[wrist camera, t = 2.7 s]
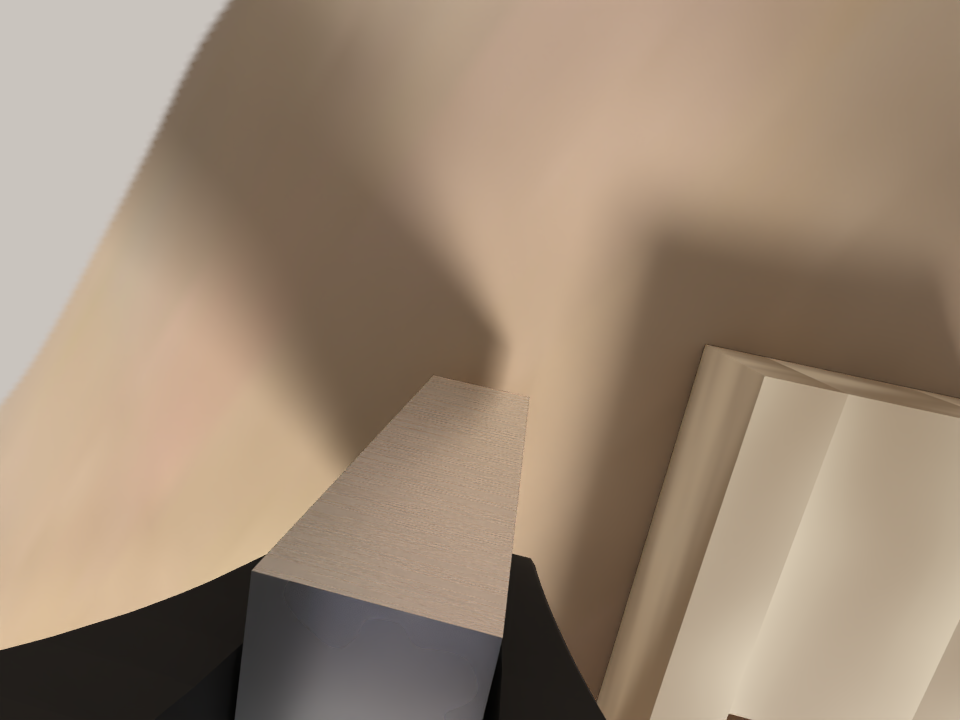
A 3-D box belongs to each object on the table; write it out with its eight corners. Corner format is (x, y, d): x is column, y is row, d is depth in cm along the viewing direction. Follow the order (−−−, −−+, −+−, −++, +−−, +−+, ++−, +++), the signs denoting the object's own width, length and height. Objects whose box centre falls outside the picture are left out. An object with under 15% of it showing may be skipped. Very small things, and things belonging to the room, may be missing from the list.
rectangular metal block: (529, 396, 12) (502, 637, 5) (480, 607, 14) (395, 1070, 6) (433, 375, 13) (250, 571, 5) (394, 584, 14) (202, 1005, 6)
